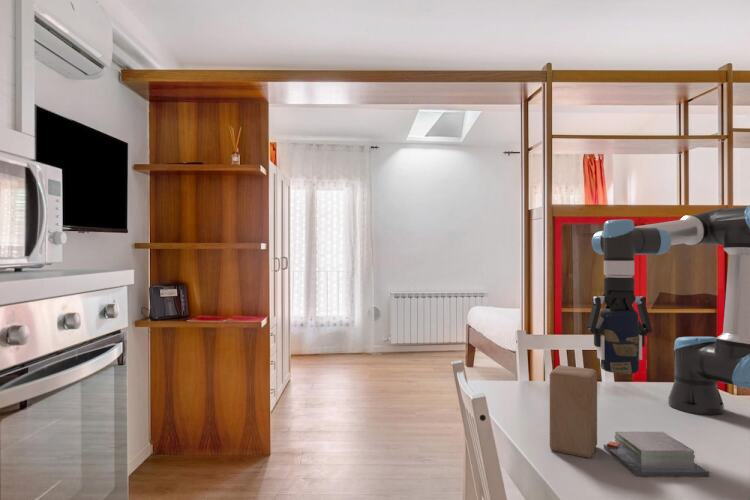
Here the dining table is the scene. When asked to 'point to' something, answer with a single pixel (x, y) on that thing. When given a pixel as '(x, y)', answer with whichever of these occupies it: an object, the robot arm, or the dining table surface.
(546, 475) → the dining table surface
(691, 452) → the stand
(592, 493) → the dining table surface
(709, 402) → the robot arm
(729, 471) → the dining table surface
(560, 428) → the block
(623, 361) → the canister
